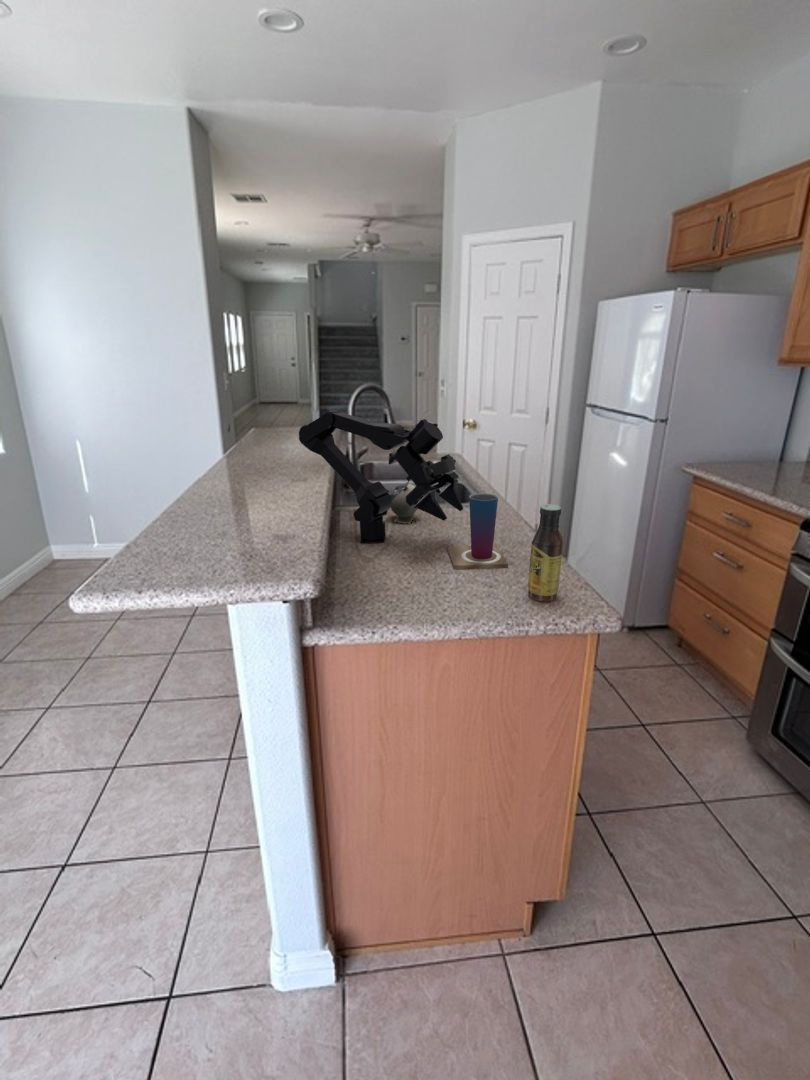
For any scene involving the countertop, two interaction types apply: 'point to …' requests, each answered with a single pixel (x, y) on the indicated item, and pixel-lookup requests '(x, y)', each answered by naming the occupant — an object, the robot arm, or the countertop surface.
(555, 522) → the sauce bottle
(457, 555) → the board
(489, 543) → the cup
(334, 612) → the countertop surface
